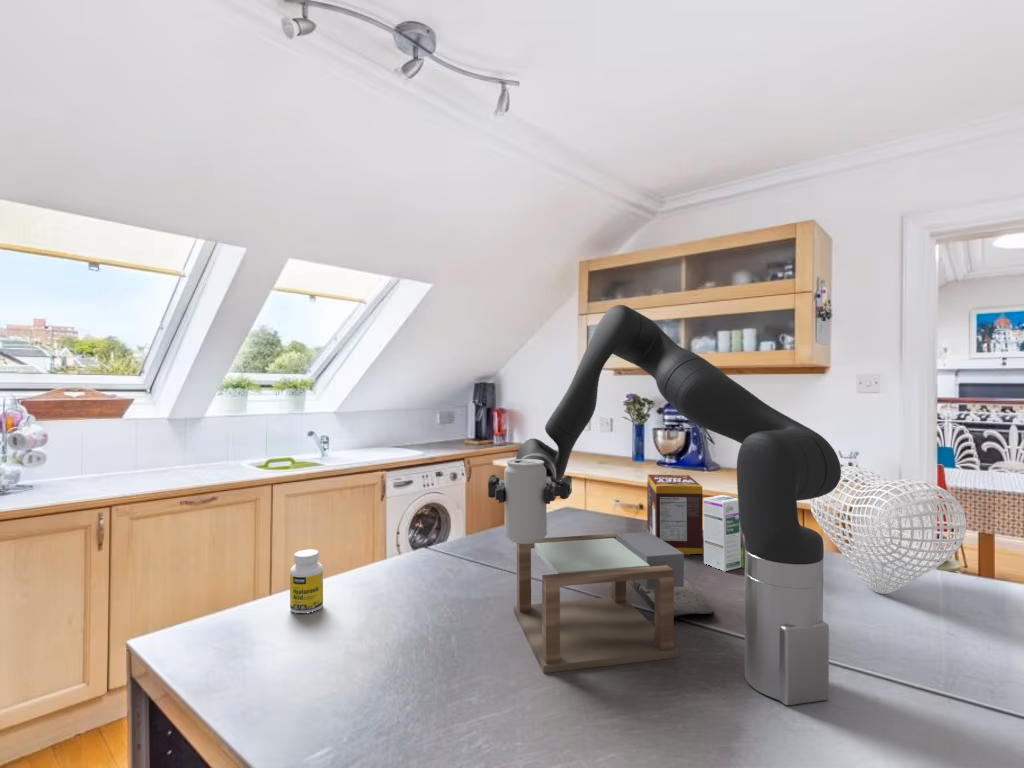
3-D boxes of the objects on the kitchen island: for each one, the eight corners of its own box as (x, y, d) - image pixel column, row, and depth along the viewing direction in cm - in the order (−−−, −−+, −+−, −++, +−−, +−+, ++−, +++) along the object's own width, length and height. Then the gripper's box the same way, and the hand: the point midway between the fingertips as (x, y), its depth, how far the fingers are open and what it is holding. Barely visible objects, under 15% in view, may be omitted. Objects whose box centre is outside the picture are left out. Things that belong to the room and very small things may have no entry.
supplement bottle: (288, 616, 94) (287, 559, 93) (292, 604, 99) (291, 549, 99) (322, 613, 95) (321, 556, 95) (324, 600, 100) (323, 546, 100)
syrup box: (725, 572, 114) (725, 501, 113) (702, 564, 119) (702, 496, 118) (743, 567, 116) (744, 498, 116) (721, 559, 122) (721, 493, 121)
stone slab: (660, 612, 90) (613, 548, 120) (659, 632, 91) (613, 563, 120) (721, 611, 91) (660, 548, 121) (721, 630, 91) (659, 562, 121)
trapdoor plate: (687, 588, 83) (687, 555, 83) (558, 600, 79) (558, 565, 79) (646, 558, 97) (646, 530, 97) (534, 567, 93) (534, 537, 93)
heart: (792, 568, 116) (792, 462, 115) (859, 564, 118) (859, 460, 118) (906, 629, 88) (907, 489, 88) (990, 622, 90) (992, 486, 90)
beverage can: (521, 530, 89) (521, 456, 89) (555, 537, 85) (554, 460, 85) (496, 540, 84) (495, 461, 84) (530, 548, 80) (529, 465, 80)
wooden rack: (678, 657, 80) (678, 570, 79) (543, 673, 76) (543, 581, 75) (623, 601, 99) (623, 532, 99) (513, 611, 95) (513, 539, 95)
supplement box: (688, 535, 140) (688, 473, 139) (703, 555, 124) (703, 486, 124) (646, 534, 141) (646, 473, 141) (655, 554, 125) (656, 485, 125)
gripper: (494, 454, 100) (476, 470, 83) (574, 455, 98) (572, 472, 81) (494, 496, 100) (476, 520, 83) (575, 497, 98) (573, 523, 82)
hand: (524, 496), depth 82 cm, fingers closed on beverage can, 6 cm apart
